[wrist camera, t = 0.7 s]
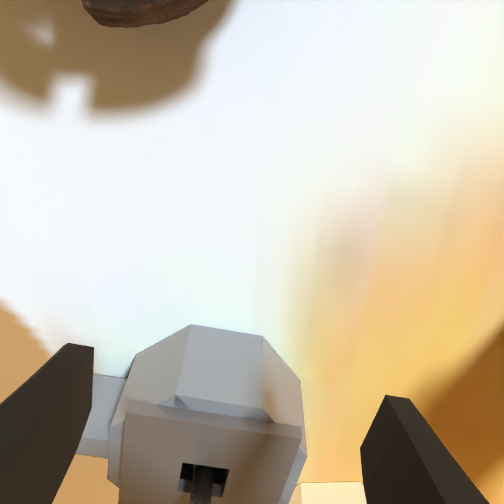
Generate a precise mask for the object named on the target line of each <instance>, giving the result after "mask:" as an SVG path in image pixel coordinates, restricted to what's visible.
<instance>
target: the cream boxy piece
mask: <svg viewBox="0 0 504 504" xmlns="http://www.w3.org/2000/svg"><path fill="white" fill-rule="evenodd" d="M289 504H367V502H366V497H365V492H364V485H363V484H362V483H360V482H327V483H300V484H299V485H297V486H296V487H295V489H294V492H293V494H292V497H291V499H290V502H289Z"/></svg>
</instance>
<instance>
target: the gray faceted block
mask: <svg viewBox="0 0 504 504" xmlns="http://www.w3.org/2000/svg"><path fill="white" fill-rule="evenodd" d="M75 454H79V455H86V456H93V457H100V458H108V475H107V479H108V480H109V481H111V482H112V483H114V484H115V485H116V486H117V487H118V488H120V490H119V502H118V504H189V499H190V493H191V486H192V479H193V472H194V467H195V466H196V465H203V466H210V467H213V468H214V470H215V471H214V480H213V490H212V499H211V504H289V502H290V499H291V497H292V494H293V492H294V489H295V486H296V484H297V481H298V479H299V476H300V474H301V471H302V468H303V466H304V463H305V461H306V458H307V447H306V437H305V426H304V415H303V404H302V393H301V383H300V380H299V379H298V378H297V376H296V375H295V374H294V373H293V372H292V370H291V369H290V368H289V367H288V366H287V365H286V363H285V362H284V361H283V360H282V359H281V357H280V356H279V355H278V354H277V353H276V351H275V350H274V349H273V348H272V347H271V346H270V344H269V343H268V342H267V341H266V340H265V338H264V337H263V336H257V335H251V334H245V333H239V332H233V331H227V330H221V329H215V328H209V327H203V326H197V325H189V326H187V327H186V328H184V329H182V330H180V331H178V332H176V333H175V334H173V335H171V336H169V337H167V338H166V339H164V340H162V341H160V342H158V343H156V344H155V345H153V346H151V347H149V348H147V349H146V350H144V351H142V352H140V353H138V354H136V356H135V359H134V362H133V364H132V367H131V370H130V373H129V376H128V378H127V379H123V378H116V377H110V376H103V375H97V374H93V391H92V408H91V411H90V414H89V417H88V420H87V423H86V426H85V429H84V432H83V435H82V438H81V440H80V443H79V446H78V449H77V451H76V453H75Z"/></svg>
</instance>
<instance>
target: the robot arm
mask: <svg viewBox="0 0 504 504" xmlns="http://www.w3.org/2000/svg"><path fill="white" fill-rule="evenodd" d="M93 361H94V347H89V346H83V345H77V344H71V343H67V344H66V345H64V346H63V347H62V348H61V349H60V350H59V351H58V352H57V353H56V354H55V355H53V356H52V357H51V358H50V359H49V360H48V361H47V362H46V363H45V364H44V365H43V366H42V367H41V368H40V369H39V370H38V371H37V372H36V373H35V374H33V375H32V376H31V377H30V378H29V379H28V380H27V381H26V382H25V383H24V384H23V385H21V386H20V387H19V388H18V389H17V390H16V391H15V392H13V393H12V394H11V395H10V396H9V397H8V398H6V399H5V400H4V401H3V402H2V403H1V404H0V504H52V502H53V500H54V498H55V496H56V493H57V491H58V489H59V487H60V485H61V483H62V481H63V479H64V477H65V475H66V472H67V470H68V468H69V466H70V464H71V461H72V460H73V457H74V455H75V453H76V451H77V449H78V446H79V443H80V440H81V438H82V435H83V432H84V429H85V426H86V423H87V420H88V417H89V414H90V411H91V408H92V391H93ZM360 453H361V465H362V476H363V485H364V492H365V497H366V502H367V504H489V502H488V501H487V500H486V499H485V498H484V496H483V495H482V494H481V493H480V491H479V490H478V489H477V488H476V486H475V485H474V484H473V483H472V481H471V480H470V479H469V478H468V476H467V475H466V474H465V472H464V471H463V470H462V469H461V467H460V466H459V465H458V463H457V462H456V461H455V459H454V458H453V457H452V455H451V454H450V453H449V452H448V450H447V449H446V447H445V446H444V445H443V443H442V442H441V441H440V439H439V438H438V437H437V435H436V434H435V433H434V431H433V430H432V429H431V427H430V426H429V425H428V423H427V422H426V420H425V419H424V418H423V416H422V415H421V414H420V412H419V411H418V410H417V408H416V407H415V406H414V404H413V403H412V402H411V400H410V399H408V398H402V397H396V396H390V395H385V397H384V399H383V401H382V403H381V406H380V408H379V410H378V412H377V414H376V416H375V418H374V420H373V422H372V424H371V427H370V429H369V431H368V433H367V435H366V437H365V439H364V441H363V443H362V445H361V447H360Z"/></svg>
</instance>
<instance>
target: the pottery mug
mask: <svg viewBox="0 0 504 504" xmlns="http://www.w3.org/2000/svg"><path fill="white" fill-rule="evenodd" d="M207 1H208V0H82V2H83V6H84V8H85V10H86V11H87V12H88V13H89V14H90V15H91V16H92V17H93V19H94V20H95V21H97V22H98V23H99V24H100V25H102V26H107V27H124V28H129V27H141V26H144V25H151V24H161V23H165V22H168V21H171V20H174V19H177V18H179V17H182V16H186V15H187V14H189V13H190V12H192V11H194V10H195V9H197V8H198V7H200V6H201V5H203V4H204V3H206V2H207Z"/></svg>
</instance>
